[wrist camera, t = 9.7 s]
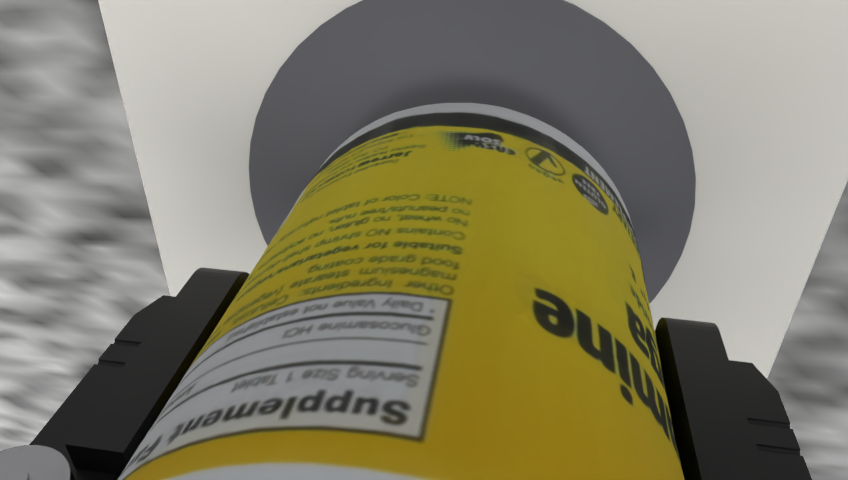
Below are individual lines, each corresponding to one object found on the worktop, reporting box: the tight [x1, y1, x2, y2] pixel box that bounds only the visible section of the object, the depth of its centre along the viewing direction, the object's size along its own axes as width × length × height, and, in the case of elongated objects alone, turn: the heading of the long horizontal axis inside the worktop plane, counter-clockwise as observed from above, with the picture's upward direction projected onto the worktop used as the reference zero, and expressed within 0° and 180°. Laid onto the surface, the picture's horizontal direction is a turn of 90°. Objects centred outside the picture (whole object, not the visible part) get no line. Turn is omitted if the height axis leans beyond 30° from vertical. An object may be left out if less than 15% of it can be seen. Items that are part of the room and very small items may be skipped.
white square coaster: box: [98, 0, 848, 379], centre depth 14 cm, size 14×12×1 cm
